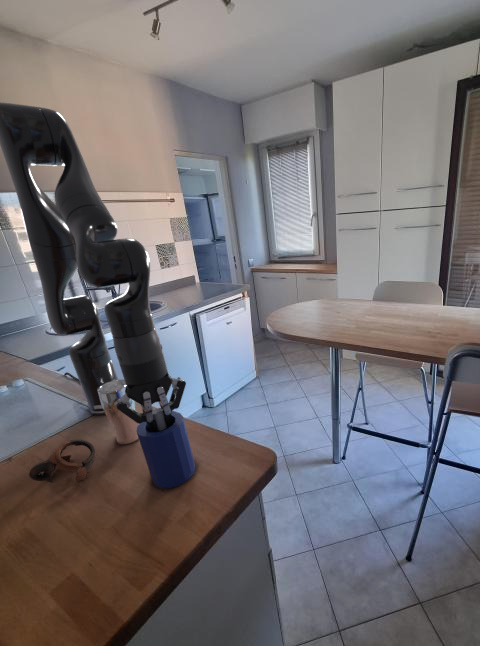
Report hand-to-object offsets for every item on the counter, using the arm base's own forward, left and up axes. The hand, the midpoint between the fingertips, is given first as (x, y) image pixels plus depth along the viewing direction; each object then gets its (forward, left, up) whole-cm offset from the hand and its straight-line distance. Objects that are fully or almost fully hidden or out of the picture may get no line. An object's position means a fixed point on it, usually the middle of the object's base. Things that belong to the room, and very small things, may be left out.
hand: (162, 431), depth 68 cm
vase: (0, 0, -11) cm, 11 cm away
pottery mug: (-16, -18, -11) cm, 27 cm away
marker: (0, 0, -9) cm, 9 cm away
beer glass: (-21, -4, -11) cm, 24 cm away
